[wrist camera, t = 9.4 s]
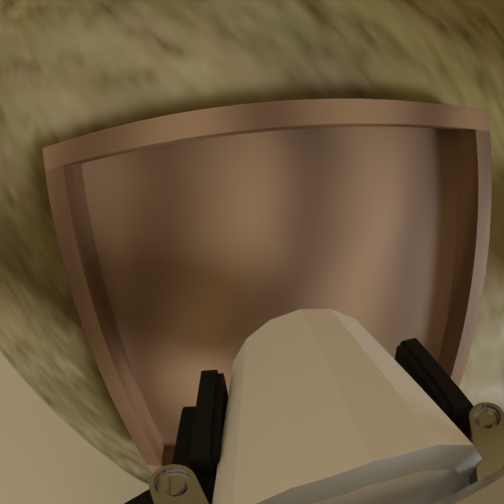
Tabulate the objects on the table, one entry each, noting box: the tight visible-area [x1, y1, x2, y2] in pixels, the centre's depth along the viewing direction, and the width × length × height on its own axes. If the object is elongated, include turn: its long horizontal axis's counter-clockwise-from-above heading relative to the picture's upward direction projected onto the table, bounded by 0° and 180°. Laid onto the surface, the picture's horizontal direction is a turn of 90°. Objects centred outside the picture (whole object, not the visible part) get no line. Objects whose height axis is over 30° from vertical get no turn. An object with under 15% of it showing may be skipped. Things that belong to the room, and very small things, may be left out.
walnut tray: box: [42, 99, 492, 473], centre depth 15 cm, size 20×20×2 cm
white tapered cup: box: [212, 309, 482, 504], centre depth 8 cm, size 7×7×7 cm
